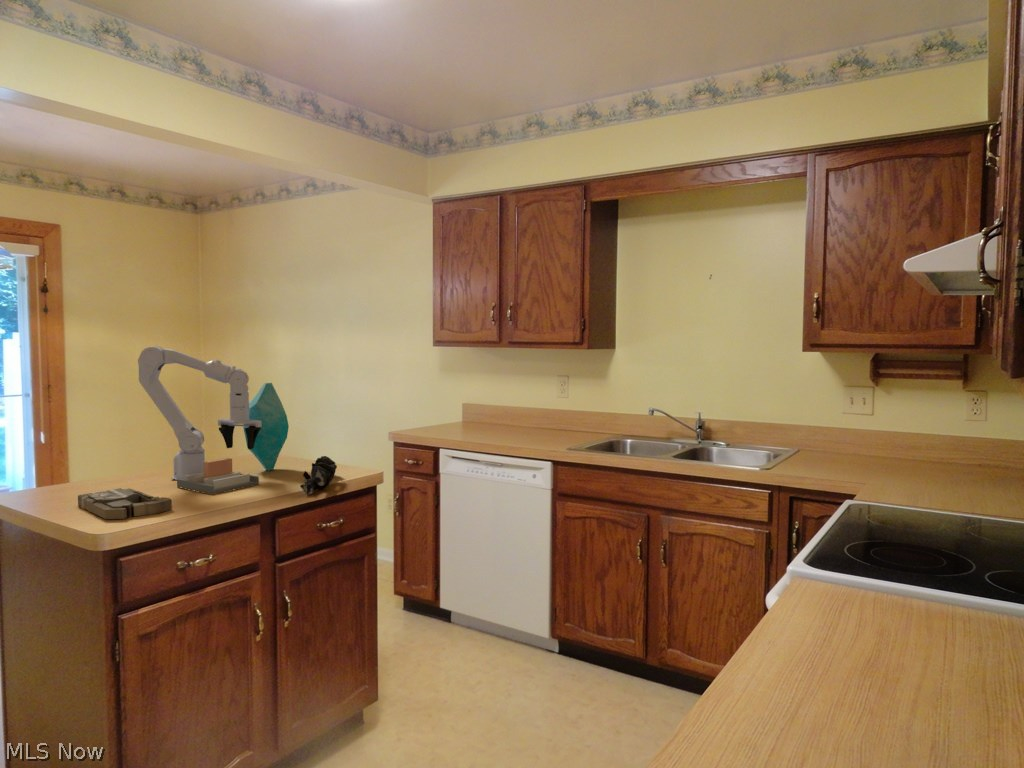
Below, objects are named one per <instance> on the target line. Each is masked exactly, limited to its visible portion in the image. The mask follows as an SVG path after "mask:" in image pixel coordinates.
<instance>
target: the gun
mask: <svg viewBox="0 0 1024 768" xmlns="http://www.w3.org/2000/svg"><path fill="white" fill-rule="evenodd" d="M77 506H78V507H79V506H80V507H79V508H81V507H82V508H81V509H83V508H84V509H83V510H85V509H86V510H85V511H87V510H88V512H89V511H90V512H89V513H91V512H92V513H91V514H93V515H94V514H95V515H96V516H98V517H101V518H102V519H104V520H124V519H128V518H127V517H130V518H132V517H141V516H150V515H155V514H156V515H157V514H160V513H164V511H165V512H167V511H171V510H172V509H173V501H172V499H171V498H168V497H165V496H164V497H160V496H153V495H150V494H146V493H144V492H142V491H139V490H135V489H133V488H114V489H113V488H112V489H107V490H104V491H103V490H102V491H97V492H94V493H92V492H90V493H84V494H78V495H77ZM132 515H133V516H132Z"/></svg>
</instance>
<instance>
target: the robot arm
mask: <svg viewBox="0 0 1024 768" xmlns="http://www.w3.org/2000/svg"><path fill="white" fill-rule="evenodd" d="M137 363H138V382H139V383H140V385H141V387H142V388H143V389H144V391H145V392H146V393H147V395H148V396H149V398H150V399H151V400H152V402H153V403H154V405H155V406H156V407H157V409H158V410H159V412H160V413H161V414H162V416H163V417H164V418H165V421H167V422H168V425H170V427H171V428H172V429H173V433H174V435H175V437H176V439H177V441H178V447H179V451H178V452H176V454H175V455H174V457H173V462H172V463H173V477H171V478H170V479H171V480H173V479H175V480H174V481H177V479H184V480H187V477H186V475H191V474H197V473H203V462H204V461H206V460H205V457H206V456H205V455H206V454H205V449H204V447H202V445H203V444H204V442H205V435H204V433H203V432H202V431H201V430H199V429H197V428H196V427H195V426H194V425H193V424H192V423H191V422H190V421H189V420H188V418H186V416H185V415H184V413H183V412H182V410H181V408H180V407H179V406H178V405H177V403H176V401H174V399H173V397H172V395H170V393H169V392H168V391H167V389H166V388H165V386H164V385H163V384H162V382H161V380H160V379H159V377H160V374H161V371H162V368H163V367H164V366H165V365H170V364H179V365H181V366H185V367H188V368H191V369H194V370H198V371H200V372H203V374H204V376H205V378H208V379H211V380H215V381H217V382H219V383H222V384H229V388H230V392H229V419H228V418H227V419H226V418H223V419H222V418H221V419H218V420H217V426H218V431H219V432H220V434H221V436H222V437H223V439H224V442H225V447H226V449H231V448H233V447H234V442H233V440H234V431H235V428H236V427H243V426H247V427H248V428H245V431H246V435H247V443H246V446H248V448H247V450H249V449H253V448H254V443H255V440H256V437H257V435H258V433H259V431H260V429H261V427H262V421H258V420H249V403H250V398H249V397H250V396H249V394H250V393H249V385H248V383H249V380H250V378H249V375H248V373H247V371H245V370H244V369H241V368H237V366H234V365H231V366H230V365H229V364H228V365H227V364H225V363H223V362H222V360H219V359H216V360H213V359H212V360H210V361H204V360H201V359H199V358H198V357H197V358H196V357H194V356H191V355H188V354H186V353H184V352H181V351H178V350H175V349H172V348H171V349H170V348H164V347H161V346H157V345H156V346H147V347H145V348H143V350H142V351H141V352H140V354H139V357H138V359H137Z"/></svg>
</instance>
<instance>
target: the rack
mask: <svg viewBox="0 0 1024 768" xmlns="http://www.w3.org/2000/svg"><path fill="white" fill-rule="evenodd" d="M186 477H187V480H184V479H177V480H176V488H178V487H182V488H181V489H183V488H186V489H185V490H187V489H190V490H189V491H192V490H195V491H194V492H196V491H199V492H198V493H201V492H204V493H203V494H206V493H208V494H207V495H210V494H212V495H215V494H214V493H217V494H221V493H220V492H222V493H225V492H224V491H227V492H229V491H228V490H231V491H234V490H233V489H236V490H239V489H238V488H241V489H243V488H242V487H245V488H248V487H247V486H250V487H253V486H252V485H255V486H258V484H260V481H259V478H260V477H259V476H257V475H252V474H251V475H250V473H242V472H240V471H237V472H236V471H235V472H234V471H232V474H226V475H221V476H216V477H210V478H205V479H204V474H203V473H197V474H191V475H186Z"/></svg>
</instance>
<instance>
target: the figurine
mask: <svg viewBox="0 0 1024 768" xmlns="http://www.w3.org/2000/svg"><path fill="white" fill-rule="evenodd" d="M337 468H338V467H337V463H336V462H335V461H334V460H332V458H331V457H329V456H326V455H321V456H320V457H317V459H316V460H315V463H313V462H312V463H311V470H310V474H309V472H308V471H306V470H304V471H303V473H302V476H303V478H304V479H305V482H304V483H303V484H300V489H302V490H303V492H304V493H305V494H306V495H312V494H313V493H315V491H323V490H326V488H327V487H328V486H329V485H330V484H331V482H332V480H333V479H334V477H335V474H336V470H337Z"/></svg>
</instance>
